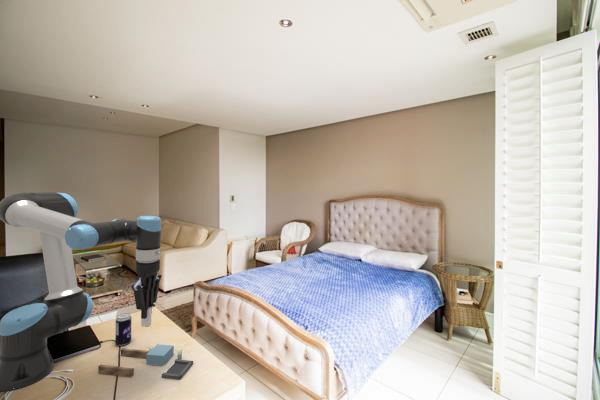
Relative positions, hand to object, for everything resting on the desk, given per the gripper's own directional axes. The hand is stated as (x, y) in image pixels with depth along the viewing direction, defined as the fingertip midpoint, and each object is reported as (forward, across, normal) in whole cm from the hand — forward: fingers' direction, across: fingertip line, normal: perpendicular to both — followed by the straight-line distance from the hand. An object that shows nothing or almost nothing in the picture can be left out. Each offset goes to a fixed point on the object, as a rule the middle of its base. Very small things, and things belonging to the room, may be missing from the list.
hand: (146, 325), depth 98 cm
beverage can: (+19, +17, +22) cm, 33 cm away
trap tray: (+18, +4, -10) cm, 21 cm away
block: (+18, +9, 0) cm, 20 cm away
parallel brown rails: (+18, +4, +10) cm, 21 cm away
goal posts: (+18, +11, -1) cm, 21 cm away
